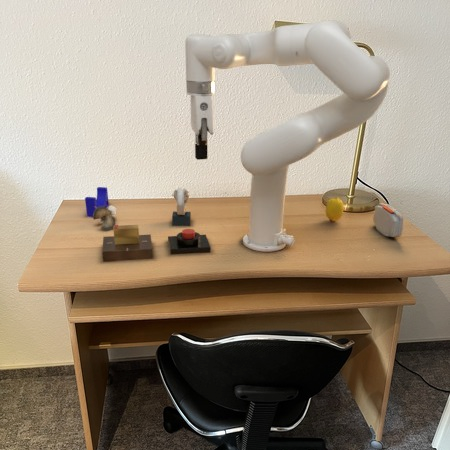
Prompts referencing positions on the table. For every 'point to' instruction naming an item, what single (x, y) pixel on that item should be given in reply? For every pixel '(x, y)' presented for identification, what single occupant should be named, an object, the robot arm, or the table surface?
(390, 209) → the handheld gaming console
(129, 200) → the table surface
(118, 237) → the tan bar
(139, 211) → the table surface
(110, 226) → the eagle figurine
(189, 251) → the button block
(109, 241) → the panel
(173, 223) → the watch
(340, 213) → the lemon
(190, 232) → the button
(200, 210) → the table surface
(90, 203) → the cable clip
